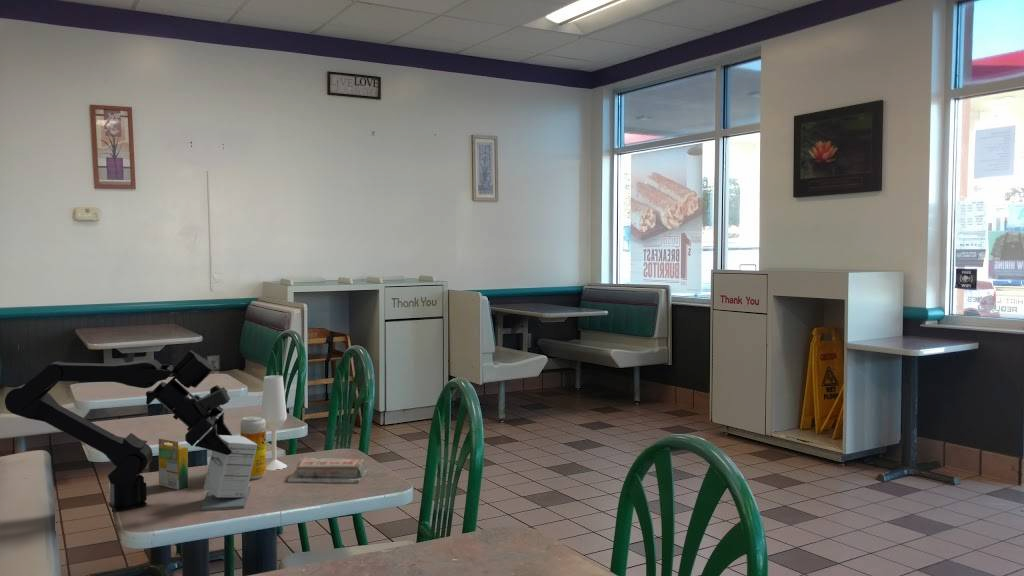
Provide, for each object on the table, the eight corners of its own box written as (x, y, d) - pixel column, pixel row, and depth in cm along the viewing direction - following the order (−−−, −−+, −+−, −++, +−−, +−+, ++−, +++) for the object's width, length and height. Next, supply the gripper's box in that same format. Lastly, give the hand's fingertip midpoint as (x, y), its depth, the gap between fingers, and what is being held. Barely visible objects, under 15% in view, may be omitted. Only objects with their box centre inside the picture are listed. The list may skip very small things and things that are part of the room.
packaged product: (367, 455, 205) (359, 465, 196) (367, 473, 206) (359, 485, 196) (298, 454, 206) (286, 464, 196) (298, 472, 206) (287, 484, 196)
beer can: (261, 480, 198) (261, 420, 197) (237, 479, 198) (236, 420, 197) (269, 473, 204) (269, 415, 203) (245, 473, 204) (245, 415, 203)
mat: (201, 510, 174) (201, 508, 174) (210, 491, 188) (210, 489, 188) (244, 508, 176) (243, 505, 176) (250, 489, 190) (250, 487, 190)
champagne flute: (285, 462, 214) (284, 374, 213) (289, 468, 208) (288, 378, 207) (259, 464, 211) (258, 375, 210) (262, 471, 205) (261, 379, 204)
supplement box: (202, 488, 182) (214, 434, 183) (232, 488, 187) (244, 435, 188) (215, 497, 177) (228, 442, 177) (246, 497, 182) (258, 443, 182)
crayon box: (189, 487, 192) (188, 439, 191) (178, 490, 189) (177, 442, 188) (169, 482, 195) (168, 435, 195) (158, 485, 193) (157, 438, 192)
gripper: (200, 383, 171) (254, 431, 174) (213, 370, 189) (261, 414, 192) (162, 421, 169) (217, 469, 172) (178, 404, 188) (227, 448, 191)
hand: (232, 448), depth 182 cm, fingers closed on supplement box, 9 cm apart
